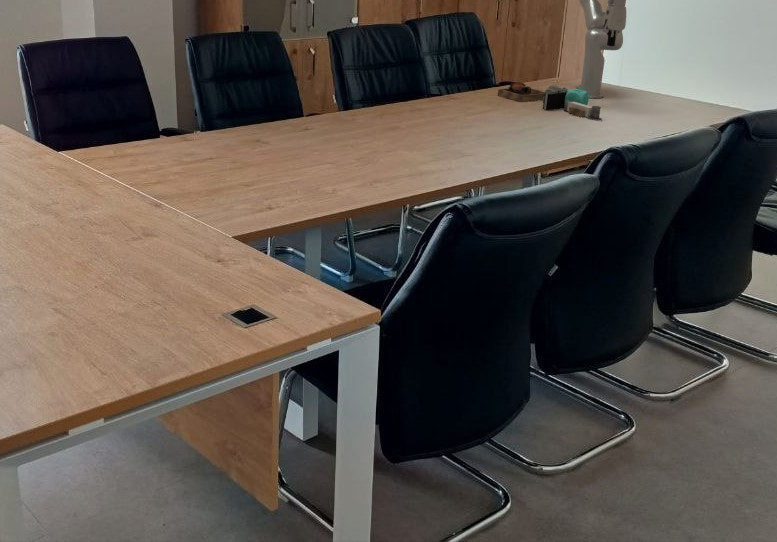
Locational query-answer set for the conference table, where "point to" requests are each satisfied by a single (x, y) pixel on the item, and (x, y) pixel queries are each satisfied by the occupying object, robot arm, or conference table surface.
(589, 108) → the leg
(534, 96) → the wooden picture frame
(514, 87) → the pottery mug
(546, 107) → the camera
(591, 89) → the robot arm
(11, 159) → the conference table surface
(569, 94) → the decorative dice
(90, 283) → the conference table surface
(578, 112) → the brown and grey piece
